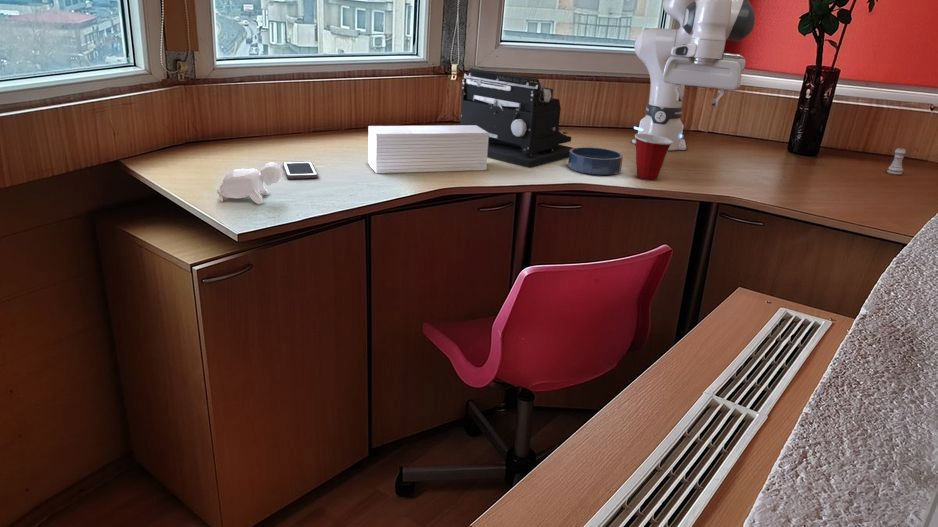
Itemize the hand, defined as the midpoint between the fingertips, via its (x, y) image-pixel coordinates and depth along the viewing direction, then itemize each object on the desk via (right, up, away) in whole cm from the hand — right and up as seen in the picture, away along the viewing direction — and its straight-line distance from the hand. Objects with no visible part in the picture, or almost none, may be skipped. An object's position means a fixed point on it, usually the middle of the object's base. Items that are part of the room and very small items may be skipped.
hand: (696, 103), depth 195 cm
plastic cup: (-10, -19, +12) cm, 25 cm away
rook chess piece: (+75, -15, +36) cm, 85 cm away
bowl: (-25, -16, +18) cm, 34 cm away
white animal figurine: (-113, -29, -28) cm, 120 cm away
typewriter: (-47, -8, +34) cm, 59 cm away
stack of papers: (-74, -16, +9) cm, 76 cm away
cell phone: (-107, -19, -4) cm, 109 cm away
